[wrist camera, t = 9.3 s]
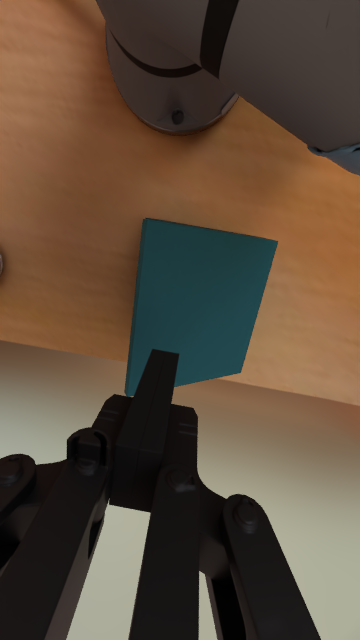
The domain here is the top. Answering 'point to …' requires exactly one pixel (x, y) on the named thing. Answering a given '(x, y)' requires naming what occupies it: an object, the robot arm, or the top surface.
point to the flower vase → (1, 264)
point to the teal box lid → (196, 299)
